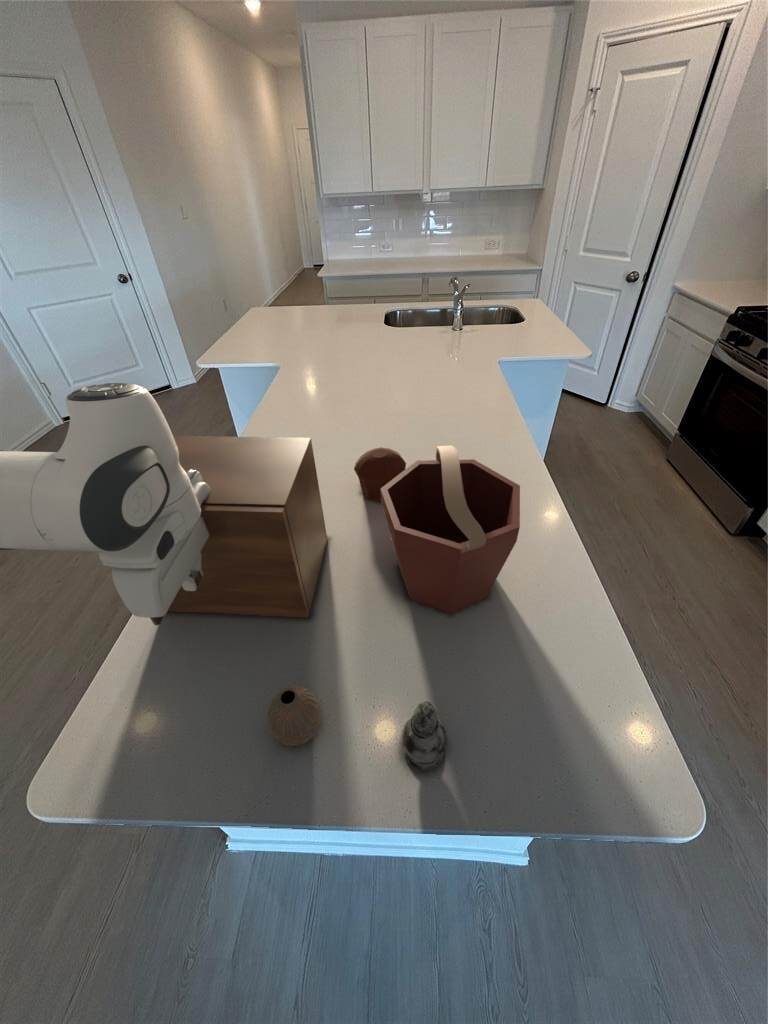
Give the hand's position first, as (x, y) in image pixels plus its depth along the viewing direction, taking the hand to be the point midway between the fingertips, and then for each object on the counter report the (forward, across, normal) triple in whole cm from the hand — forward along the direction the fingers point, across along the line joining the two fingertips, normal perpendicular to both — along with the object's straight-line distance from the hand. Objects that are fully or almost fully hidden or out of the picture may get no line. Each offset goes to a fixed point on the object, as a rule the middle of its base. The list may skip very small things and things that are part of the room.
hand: (194, 583), depth 63 cm
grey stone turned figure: (+14, +15, +33) cm, 39 cm away
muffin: (+14, -42, +23) cm, 50 cm away
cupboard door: (+14, -3, 0) cm, 14 cm away
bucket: (+14, -16, +37) cm, 42 cm away
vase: (+14, +13, +16) cm, 25 cm away
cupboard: (+14, -16, 0) cm, 21 cm away
